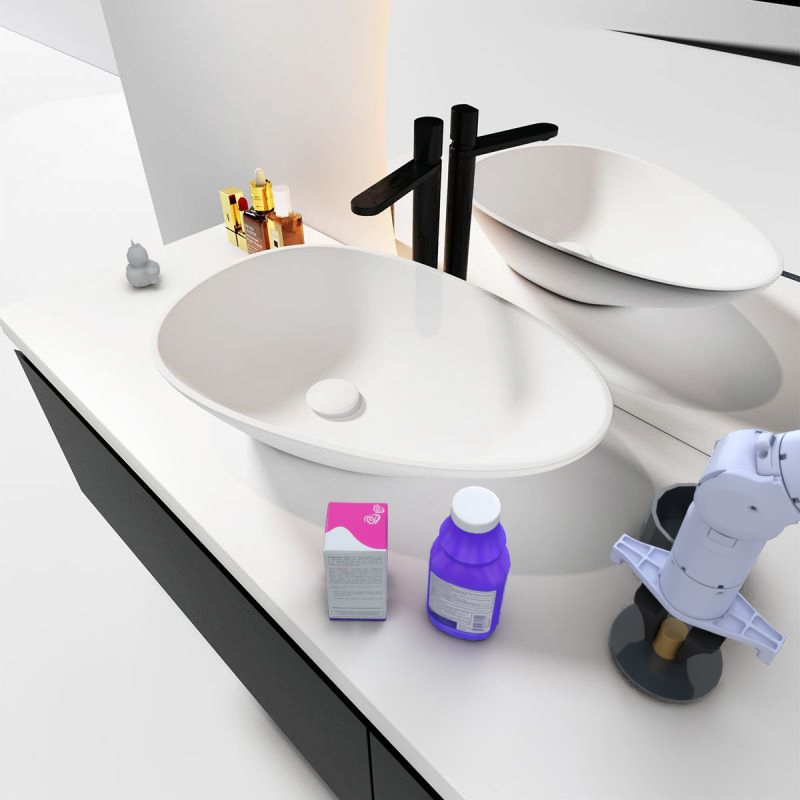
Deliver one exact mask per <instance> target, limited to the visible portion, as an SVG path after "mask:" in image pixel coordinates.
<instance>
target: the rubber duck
mask: <svg viewBox="0 0 800 800" xmlns="http://www.w3.org/2000/svg"><path fill="white" fill-rule="evenodd" d="M130 245H131V246H129V247H128V249H127V251H126V252H127V253H126V255H125V256H126V260H127V263H128V264H127V265H126V267H125V270H126V271H125V277H126V280H127V282H128V283H130V285H132V286H134V287H138V288H144V287H148V286H150V285H156V284H158V283H160V275H161V267H160V264H159V262H157V261H155V260H153V259H149V254H148V250H147V249H146V248H145V247H144V246H143V245H141V243H139V242H136V243H135V242H134V241H133V240H132V239H130Z"/></svg>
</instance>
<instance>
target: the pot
mask: <svg viewBox="0 0 800 800" xmlns="http://www.w3.org/2000/svg"><path fill="white" fill-rule="evenodd" d="M697 484H698V482H697V483H696V482H676V483H673V484H670V485H667V486H665V487H662V488H661V489H660V490H659V491H658V493H656V494H655V496H654V497H653V498H652V501H651V504H650V507H649V509H648V512H647V514H646V517H645V519H644V522H643V524H642V525H643V526H642V528H641V531H640V536H639V540H638V541H640V542H642V543H645V544H648V545H651V546H654V547H657V548H660V549H663V550H667V551H671V549H672V547H673V544H674V541H675V539H676V537H677V534H678V532H679V530H680V527H681V525H682V523H683V520H684V518H685V516H686V513H687V511H688V508H689V506H690V504H691V503H692V502H693V501H694V494H695V491H696V487H697Z"/></svg>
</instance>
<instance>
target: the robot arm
mask: <svg viewBox="0 0 800 800" xmlns="http://www.w3.org/2000/svg"><path fill="white" fill-rule="evenodd" d="M799 522H800V429H795V430H791V431H785V432H781V433H777V434H776V433H774V432H773V431H767V430H763V429H758V428H746V429H740V430H735V431H731V432H729V433H727V434H726V435H725V434H724V436H722V437H721V439H720V438H719V439H716V440H715V442H714V445H713V451H712V453H711V455H710V458H709V459H708V462H707V463H706V465H705V467H704V470H703V472H702V474H701V476H700V478H699V480H698V482H697V487H696V491H695V494H694V501H693V502H692V503H691V504H690V506H689V508H688V511H687V513H686V516H685V518H684V520H683V523H682V525H681V527H680V530H679V532H678V534H677V537H676V539H675V541H674V544H673V547H672V549H671V551H667V550H663V549H660V548H657V547H654V546H651V545H648V544H645V543H642V542H640V541H639V540H637V539H635V538H633V537H631V536H630V535H628V534H626V533H623V534H622V535H621V536H620V537H619V539H618V540H617V541H616V542H615V543H614V544H613V546H612V548H611V551H610V554H609V557H608V560H610V561H611V562H613V563H614V564H615V565H621V564H622V563H625V564H626V565H627V566H628V567H629V568H630V569H631V571H632V572H633V573H634V574H635V575H636V576H637V578H638V579H639V580H640V581H641V584H640V586H639V587H638V588H637V589H636V591H635V593H634V597H633V603H635V604H636V605H637V607H638V608H639V610H640V612H641V615H642V618H643V622H644V633H645V635H644V639H645V640H646V641H648V642H649V643H650V644H651V642H652V641H653V640H654V638H655V636H656V634H657V632H658V629H659V627H660V625H661V623H662V621H663V620H665V619H667V616H668V613H670V614H672V615H673V616H674V617H676V618H677V619H679V620H681V621H683V622H685V623H687V624H690V625H693V627H692V628H691V630H690V631H689V633H688V634H687V636H686V639H685V642H684V645H683V647H682V648H681V649H680V651H679V652H678V653H677V655H676V656H675V658H674V661H676V662H677V663H678V664H682V663H683V662H684V661H685V660H687V659H688V658H690V657H692V656H695V655H698V654H712V653H714V652H716V651H717V650H718V649H719V648H720V649H721V647H722V645H723V644H724V642H725V641H726V640H727V639H730V640H732V641H735V642H739V643H741V644H744V645H746V646H750V647H751V648H753V649H754V650H756V651H757V652H756V654H755V656H756V658H757V659H758V660H760V661H761V662H762V663H764V664H765V665H767V666H769V665H770V664H772V662H773V660H774V658H775V657H776V656H777V655H778V653H779V651H780V650H781V648H782V647H783V645H784V643H785V641H786V640H787V638H788V637H787V636H786V635H785V634H783V633H782V632H780V631H779V630H778V629H776V628H775V627H774V626H772V625H771V624H770V623H769V622H768V621H767V620H766V618H764V616H762V615H761V614H760V612H758V611H757V609H755V607H753V605H751V603H750V602H749V601H748V600H747V599H746V598H745V597H744V596H743V595H742V593H740V590H741V588H742V586H743V585H744V583H745V581H746V580H747V578H748V575H749V574H750V572H751V570H752V569H753V567H754V565H755V563H756V562H757V560H758V558H759V556H760V555H761V553H762V551H763V549H764V547H765V546H766V544H767V542H768V541H771V540H774V539H775V538H777V537H778V536H779V535H780V534H781V533H782V532H783V531H784V530H785V529H786V528H787V527H789V526H792V525H798V524H799Z"/></svg>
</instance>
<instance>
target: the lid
mask: <svg viewBox="0 0 800 800" xmlns="http://www.w3.org/2000/svg"><path fill="white" fill-rule="evenodd" d="M692 627H693V625H690V624H687V623H685V622H683V621H681V620H679V619H677V618H676V617H674V616H673V615H672V614H670V613H668V616H667V619H665V620H663V621H662V623H661V625H660V627H659V629H658V632H657V634H656V636H655V638H654V640H653V641H652V642H651V644H650V643H649V642H648V641H646V640H645V639H644V635H645V633H644V622H643V618H642V615H641V612H640V610H639V608H638V607H637V605H636V604H635V603H634V602H633V603H631V604H629V605H627V606H626V607H624V608H623V609H622V610H620V612H619V613H618V614H616V617H615V619H614V621H613V622H612V625H611V628H610V633H609V646H610V651H611V655H612V658H613V659H614V660H613V661H614V662H615V664H616V666H617V668H618V669H619V671H620V672H621V674H623V676H624V677H625V679H627V680H628V681H629V683H631V684H632V685H633V686H635V688H637V689H638V690H640V691H641V692H643V693H645V694H647V695H648V696H650V697H653V698H654V699H657V700H660V701H662V702H663V701H664V702H667V703H673V704H685V703H686V704H687V703H692V702H693V703H694V702H696V701H699V700H702V699H703V698H705V697H707V696H708V695H709V694H711V693H712V692H713V691H714V689H715V688H716V687H717V685H718V683H719V682H720V679H721V677H722V674H723V667H724V659H723V654H722V651H721V647H720V648H719V649H718V650H717V651H716V652H714V653H712V654H698V655H695V656H692V657H690V658H688V659H687V660H685V661H684V662H683V663H682V664H678V663H677V662H676V661H674V658H675V656H676V655H677V653H678V652H679V651H680V649H681V648H682V647H683V645H684V642H685V639H686V636H687V634H688V633H689V631H690V630H691V628H692Z"/></svg>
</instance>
